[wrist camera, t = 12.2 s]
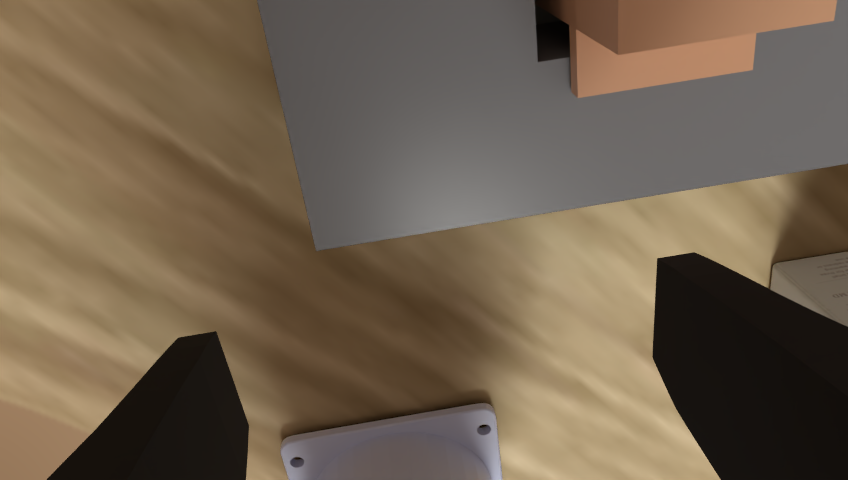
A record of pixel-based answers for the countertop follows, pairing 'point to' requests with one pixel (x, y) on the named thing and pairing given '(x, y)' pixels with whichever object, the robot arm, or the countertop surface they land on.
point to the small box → (815, 284)
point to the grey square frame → (523, 115)
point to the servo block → (670, 38)
